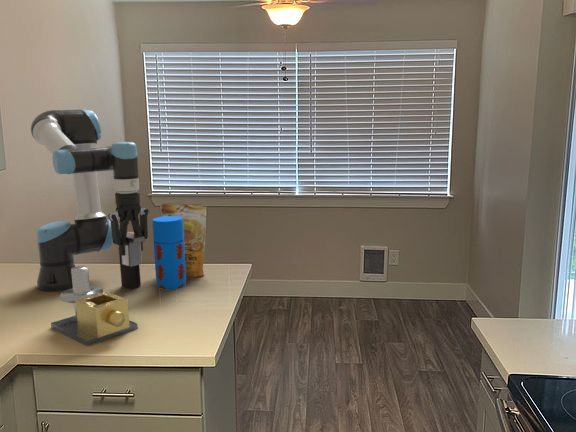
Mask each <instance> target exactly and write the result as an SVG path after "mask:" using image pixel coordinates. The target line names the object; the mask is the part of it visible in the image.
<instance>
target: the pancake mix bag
mask: <svg viewBox="0 0 576 432" xmlns="http://www.w3.org/2000/svg"><path fill="white" fill-rule="evenodd" d="M158 207H159V212H160V213H159V214H160V216H159V217H164V216H179V217H182V219H183V230H184V248H185V265H186V278H188V277H189V278H198V276H199V277H203V276H205V274H204V273H205V272H204V269H203V267H204V261H205V249H206V237H207V225H208V223H207V222H208V213H209V212H208V207H207V206H205V204H201V203H200V204H196V203H195V204H194V203H193V204H190V203H162V204H160V205H159V206H158ZM187 276H188V277H187Z"/></svg>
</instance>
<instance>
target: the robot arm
mask: <svg viewBox="0 0 576 432" xmlns="http://www.w3.org/2000/svg"><path fill="white" fill-rule="evenodd" d="M30 133H31V137H32V138H33V139H34V140H35V141H36V143H38V144H40V145H41V146H44V147H45V149H47V151H48V152H49V153H50V154H51V155H52V166H53V169H54V171H55V173H56V174H59V175H72V179H73V180H72V181H73V186H74V193H75V202H76V210H77V215H76V216H75V218H74V219H73V220H74V223H73V224H72V223H71V222H70V221H69V220H60V221H59V220H58V221H53V222H50V223H47V224H44V225H42V226H40V227H38V229H37V231H36V237H37V238H36V242H37V249H38V256H39V264H40V266H39V272H38V274H37V279H36V287H37V290H39V291H45V292H55V291H65V290H68V289H72V288H73V284H72V273H71V268H73V267H77V266H76V264H75V259H74V258H75V257H74V256H76V255H77V256H78V255H83V254H90V253H96V252H101V251H106V250H108V249H110V248H111V246H112V245H113V244H114V245H117V246H118V252H119V251H120V255H122V264H123V265H127V266H128V265H129V254H128V245H125V244H126V236H127V232H128V226H129V224H130V223H131V226H132V232H134V234H136V235H140V236H144V238H145V240H148V239H149V234H148V233H149V231H148V214H149V209H148V208H145V207H143V208H142V206H141V204H140V203H141V193H140V191H139V190H140V179H139V164H138V163H139V161H138V154H139V153H138V149H137V144H136V143H135V142H132V141H118V142H113V143H112V144H111V146H105V147H97V146H98V141H99V140H101V138H102V126H101V123H100V121H99V118H98V116H97V115H96V112H94V111H93V110H90V109H89V110H88V109H81V108H80V109H63V110H62V109H51V110H46V111H44V112H42V113H40V114H38V115H37V116H36V117H35V118H34V119H33V120H32V123H31V126H30ZM110 171H112V173H113V185H114V186H113V187H114V191H115V193H114V198H115V205H116V208H115V211H114V212H113V213H109V214H108V215H106V214H105V213H104V212H103V211H102V205H101V197H100V191H99V181H98V174H97V172H110ZM107 217H108V218H107ZM118 220H119V221H118ZM129 222H130V223H129ZM143 243H144V242H140V246H141V252H143V251H144V245H143ZM142 259H143V258H142V254H141V262H143V260H142Z"/></svg>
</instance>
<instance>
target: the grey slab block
mask: <svg viewBox="0 0 576 432" xmlns="http://www.w3.org/2000/svg"><path fill="white" fill-rule="evenodd" d="M129 232H130V231H127V236H126V244H125V245H128V254H129V265H128V266H130V267H132V266H136V265H139V266H140V265H142V262H143V261H142V262H141V255H142V251H141V246H140V242H143V243H144V242H145V240H146V239H145V238H144V236H140V235H136V234H132V233H129Z"/></svg>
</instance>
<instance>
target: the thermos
mask: <svg viewBox="0 0 576 432" xmlns="http://www.w3.org/2000/svg"><path fill="white" fill-rule="evenodd" d="M152 236H153V237H152V238H153V251H154V254H153V255H154V263H155V265H154V266H155V278H156V279H155V280H156V286H157V288H158V289H161V290H168V291H169V290H170V291H171V290H178V289H181V288H184V287H185V286H186V285H187V277H186V265H185V248H184V230H183V219H182V217H179V216H164V217H161V216H158V217H154V218H153V219H152Z"/></svg>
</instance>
